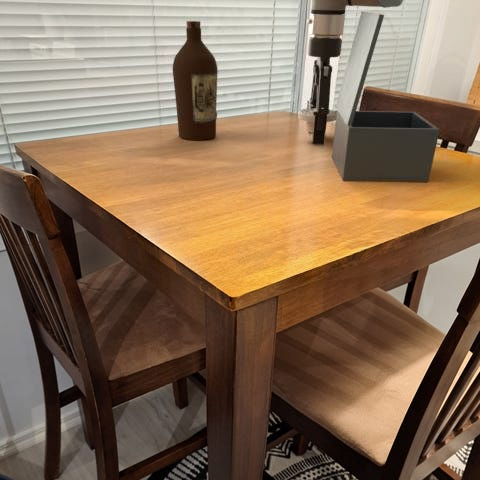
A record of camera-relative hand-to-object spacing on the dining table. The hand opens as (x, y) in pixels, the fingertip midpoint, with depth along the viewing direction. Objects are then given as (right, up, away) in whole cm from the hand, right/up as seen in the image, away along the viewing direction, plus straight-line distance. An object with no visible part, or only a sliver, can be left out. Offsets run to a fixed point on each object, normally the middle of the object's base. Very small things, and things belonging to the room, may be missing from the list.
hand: (315, 138), depth 124 cm
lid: (+3, +2, -31) cm, 31 cm away
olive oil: (-30, +1, +2) cm, 30 cm away
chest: (+9, -14, -21) cm, 27 cm away
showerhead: (0, 0, 0) cm, 0 cm away
